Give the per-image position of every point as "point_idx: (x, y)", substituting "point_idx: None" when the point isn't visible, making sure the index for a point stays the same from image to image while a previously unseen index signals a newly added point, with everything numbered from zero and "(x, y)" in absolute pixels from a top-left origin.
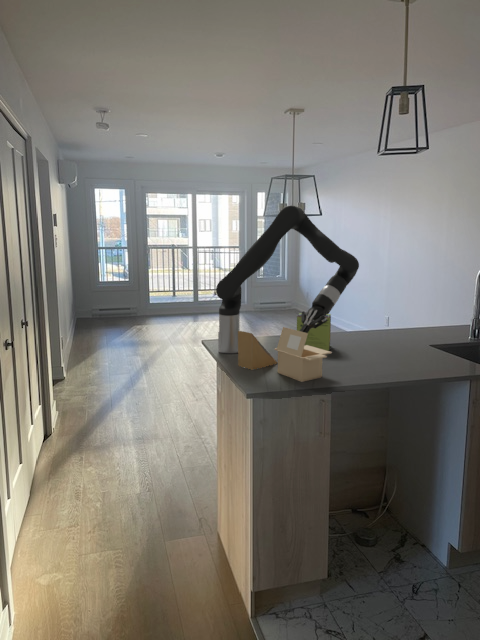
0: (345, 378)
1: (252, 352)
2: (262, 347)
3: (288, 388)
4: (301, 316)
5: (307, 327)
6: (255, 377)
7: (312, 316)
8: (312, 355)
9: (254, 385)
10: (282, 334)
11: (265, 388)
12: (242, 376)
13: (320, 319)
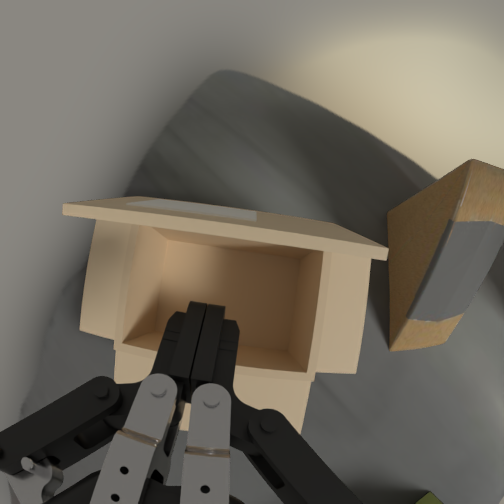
0: (93, 377)
1: (420, 193)
2: (434, 254)
3: (158, 153)
4: None
5: (160, 362)
6: (316, 158)
7: (120, 476)
8: (127, 287)
9: (254, 104)
10: (347, 234)
11: (210, 108)
12: (349, 140)
13: (16, 423)
